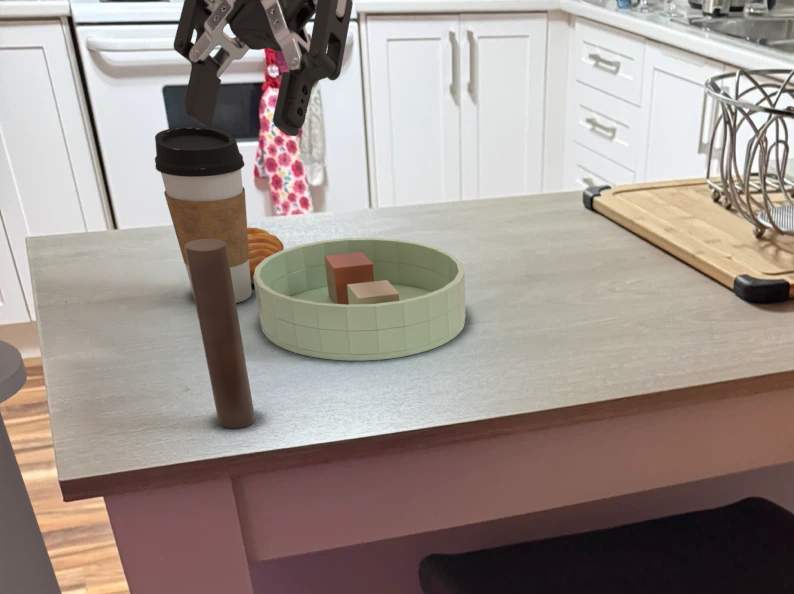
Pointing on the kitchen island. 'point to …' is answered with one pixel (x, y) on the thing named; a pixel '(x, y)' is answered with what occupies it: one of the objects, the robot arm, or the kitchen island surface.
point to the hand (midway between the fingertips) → (240, 126)
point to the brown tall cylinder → (220, 331)
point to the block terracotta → (346, 274)
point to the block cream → (372, 293)
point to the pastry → (261, 247)
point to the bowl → (361, 323)
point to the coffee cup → (206, 194)
